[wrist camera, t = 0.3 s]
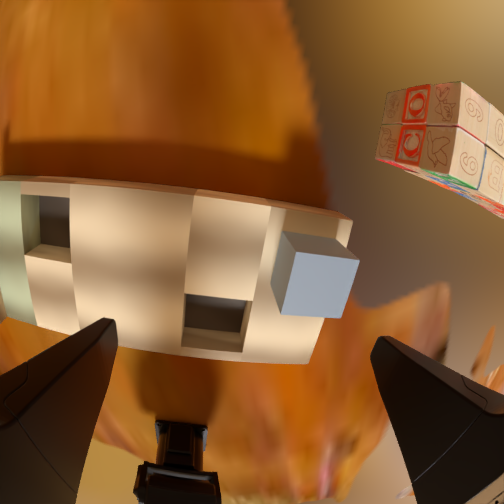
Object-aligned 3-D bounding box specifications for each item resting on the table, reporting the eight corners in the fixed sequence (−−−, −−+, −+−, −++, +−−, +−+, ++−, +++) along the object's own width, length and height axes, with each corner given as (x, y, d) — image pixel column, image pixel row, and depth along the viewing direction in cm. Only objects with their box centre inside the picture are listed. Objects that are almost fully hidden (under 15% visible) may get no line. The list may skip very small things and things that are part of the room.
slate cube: (321, 289, 21) (340, 318, 17) (270, 284, 20) (280, 314, 17) (335, 238, 20) (359, 260, 16) (281, 230, 19) (296, 251, 15)
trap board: (300, 343, 26) (312, 375, 22) (16, 300, 22) (-6, 322, 18) (337, 211, 22) (362, 226, 18) (4, 175, 18) (-27, 183, 13)
